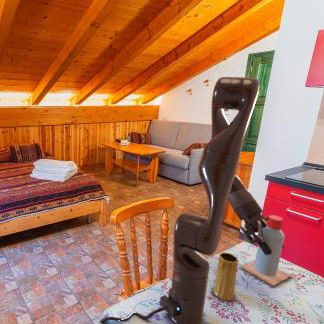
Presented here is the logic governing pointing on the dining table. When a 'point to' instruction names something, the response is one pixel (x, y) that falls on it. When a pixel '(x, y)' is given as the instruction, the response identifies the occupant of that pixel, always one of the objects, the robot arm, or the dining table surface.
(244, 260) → the dining table surface
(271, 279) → the coaster
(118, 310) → the dining table surface
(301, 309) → the dining table surface
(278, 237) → the bottle
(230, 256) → the vase
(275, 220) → the cap
